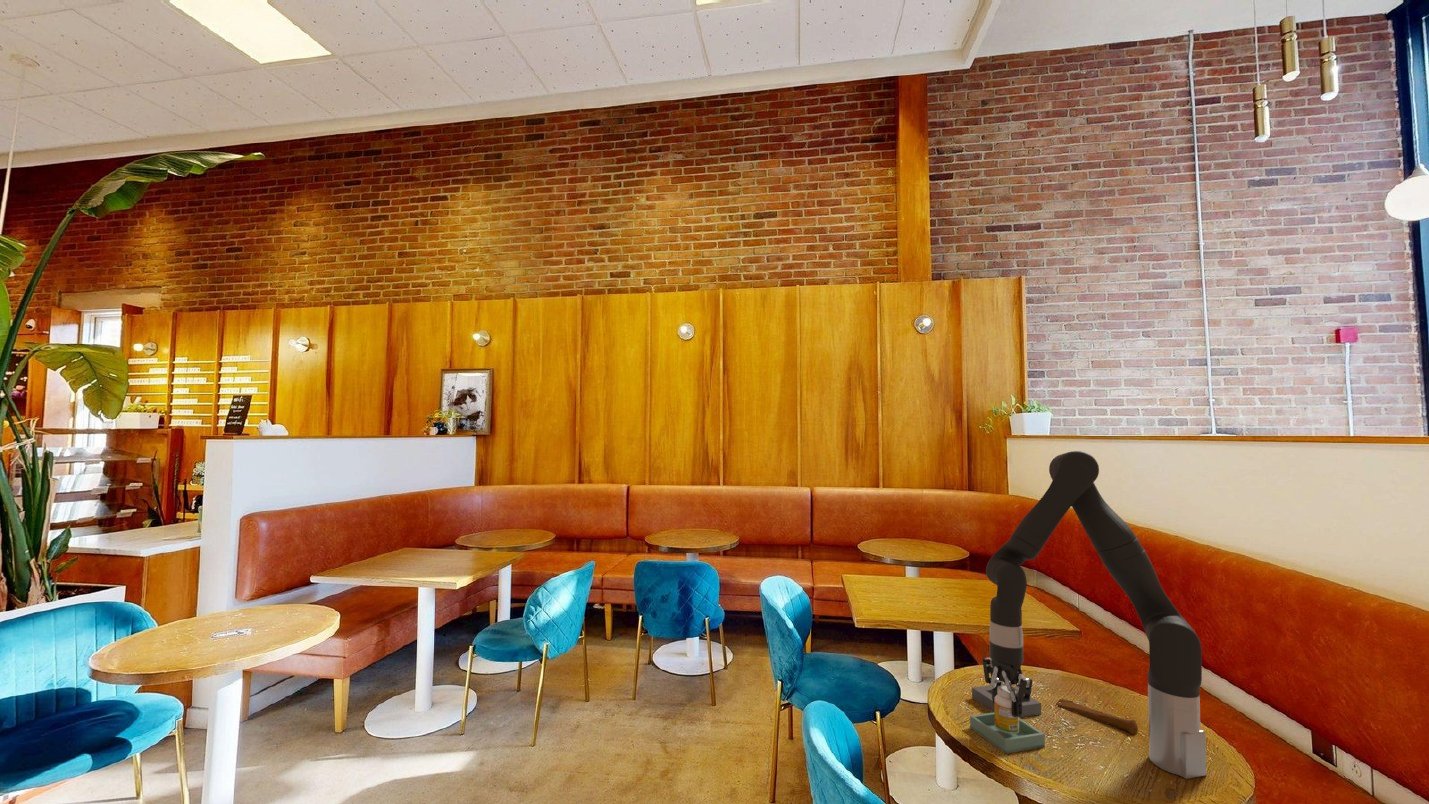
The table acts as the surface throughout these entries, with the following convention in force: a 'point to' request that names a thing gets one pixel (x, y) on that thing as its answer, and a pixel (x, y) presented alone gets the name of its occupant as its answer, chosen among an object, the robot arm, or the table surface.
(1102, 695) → the table surface
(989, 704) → the socket block
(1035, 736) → the tray
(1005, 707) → the supplement bottle
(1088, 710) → the primitive tool
